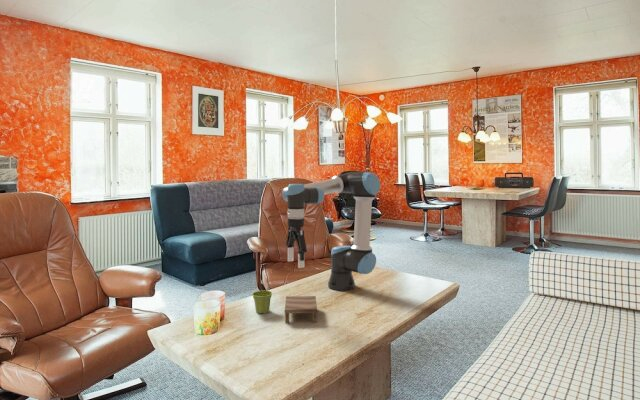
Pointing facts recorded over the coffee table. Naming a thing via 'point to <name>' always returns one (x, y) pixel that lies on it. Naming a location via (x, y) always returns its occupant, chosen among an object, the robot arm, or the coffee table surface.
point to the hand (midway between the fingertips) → (295, 264)
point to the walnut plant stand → (300, 306)
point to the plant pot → (262, 301)
